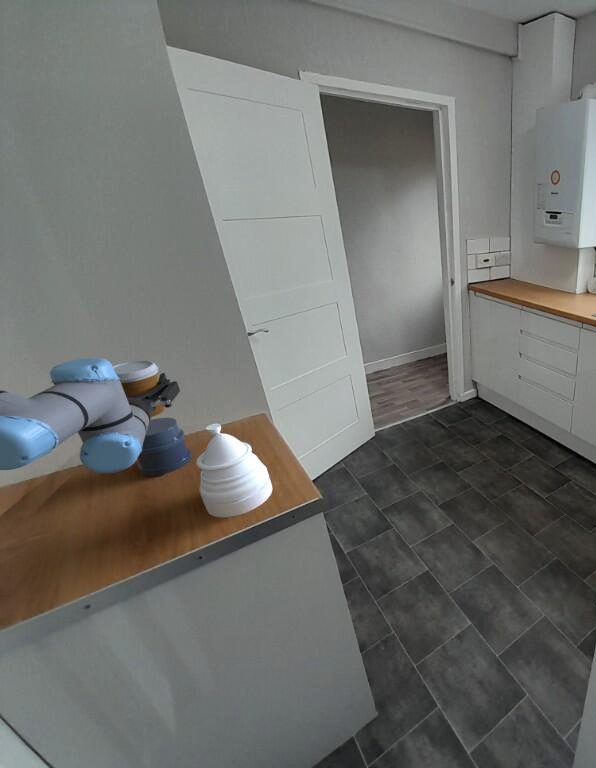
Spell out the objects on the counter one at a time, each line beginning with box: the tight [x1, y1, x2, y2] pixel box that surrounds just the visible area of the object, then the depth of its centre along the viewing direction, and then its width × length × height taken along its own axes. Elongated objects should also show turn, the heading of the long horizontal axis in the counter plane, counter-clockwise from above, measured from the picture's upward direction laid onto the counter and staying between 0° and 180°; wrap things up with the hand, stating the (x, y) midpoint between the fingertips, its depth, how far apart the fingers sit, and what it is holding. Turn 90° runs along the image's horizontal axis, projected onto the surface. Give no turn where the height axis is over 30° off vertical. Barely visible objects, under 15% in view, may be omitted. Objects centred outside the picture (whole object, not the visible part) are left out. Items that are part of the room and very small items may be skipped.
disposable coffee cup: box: [112, 359, 166, 418], centre depth 96 cm, size 10×10×12 cm
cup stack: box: [137, 417, 193, 477], centre depth 102 cm, size 10×10×11 cm
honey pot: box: [196, 423, 273, 518], centre depth 89 cm, size 13×13×18 cm
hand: (141, 382), depth 99 cm, fingers closed on disposable coffee cup, 8 cm apart
